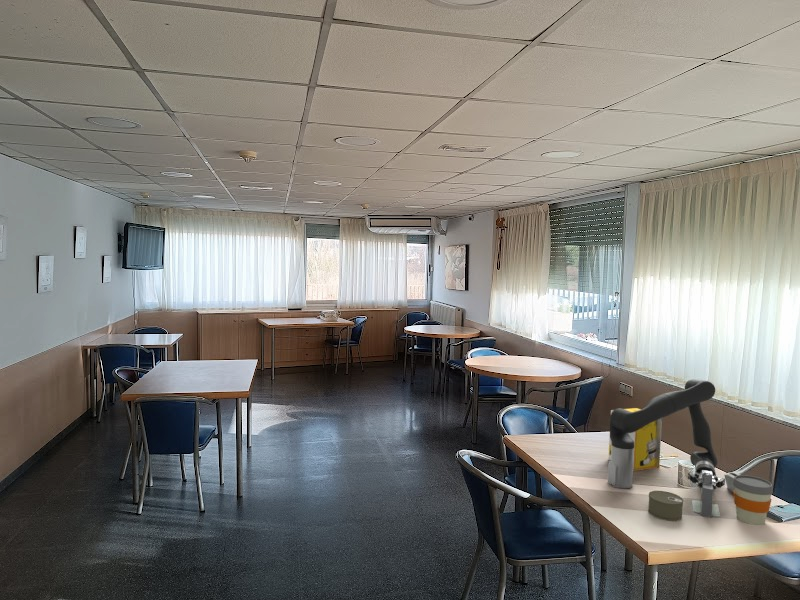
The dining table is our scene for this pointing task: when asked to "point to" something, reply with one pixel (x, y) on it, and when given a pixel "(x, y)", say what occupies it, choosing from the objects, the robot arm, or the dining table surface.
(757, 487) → the reusable coffee cup
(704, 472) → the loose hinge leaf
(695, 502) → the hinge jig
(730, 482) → the hinge
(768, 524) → the dining table surface
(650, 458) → the packaging box
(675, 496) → the can
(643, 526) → the dining table surface
